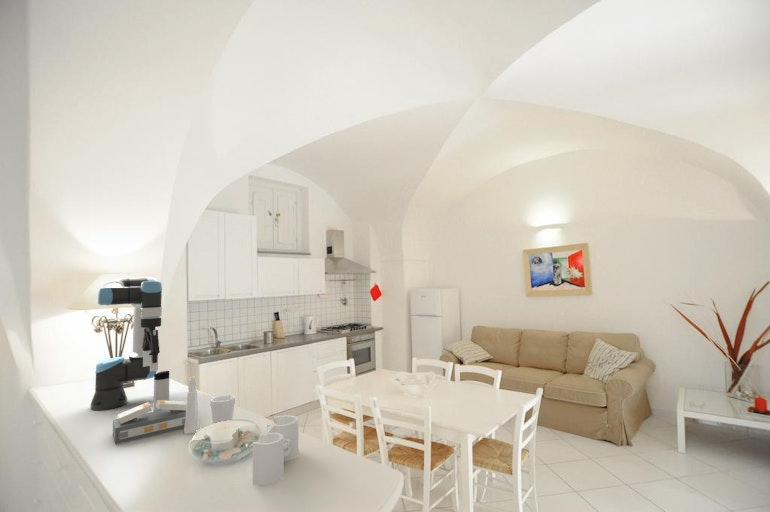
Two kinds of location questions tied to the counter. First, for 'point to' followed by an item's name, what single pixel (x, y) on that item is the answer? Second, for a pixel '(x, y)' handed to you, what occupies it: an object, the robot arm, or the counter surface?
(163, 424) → the switch unit
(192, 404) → the cosmetic bottle
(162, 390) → the travel mug
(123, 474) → the counter surface
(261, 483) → the pair of white mugs
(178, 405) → the plate
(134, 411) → the rocker
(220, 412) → the foam cup
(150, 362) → the robot arm
